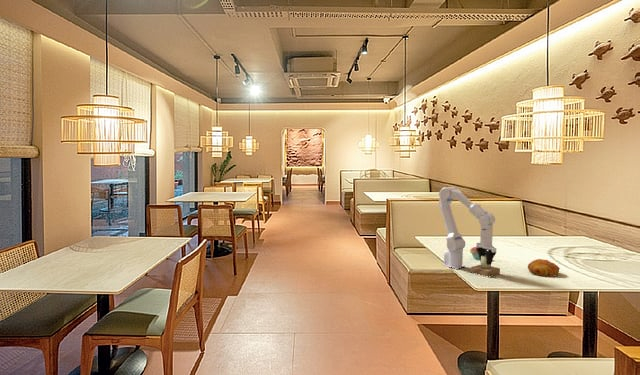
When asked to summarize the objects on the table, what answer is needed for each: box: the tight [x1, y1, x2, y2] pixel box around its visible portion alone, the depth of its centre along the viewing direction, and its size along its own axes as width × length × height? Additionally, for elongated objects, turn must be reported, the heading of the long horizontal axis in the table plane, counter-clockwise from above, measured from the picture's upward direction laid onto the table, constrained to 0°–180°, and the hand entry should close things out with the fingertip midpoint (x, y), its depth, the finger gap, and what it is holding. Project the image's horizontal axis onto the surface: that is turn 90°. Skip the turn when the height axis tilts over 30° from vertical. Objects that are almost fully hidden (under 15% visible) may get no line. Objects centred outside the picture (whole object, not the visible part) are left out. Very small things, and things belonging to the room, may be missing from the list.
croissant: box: [527, 258, 560, 278], centre depth 217 cm, size 14×16×8 cm
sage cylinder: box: [480, 255, 492, 268], centre depth 216 cm, size 5×5×6 cm
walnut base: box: [470, 264, 501, 278], centre depth 217 cm, size 10×10×3 cm
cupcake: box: [469, 246, 480, 260], centre depth 247 cm, size 9×8×12 cm
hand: (485, 263), depth 216 cm, fingers open, 5 cm apart
